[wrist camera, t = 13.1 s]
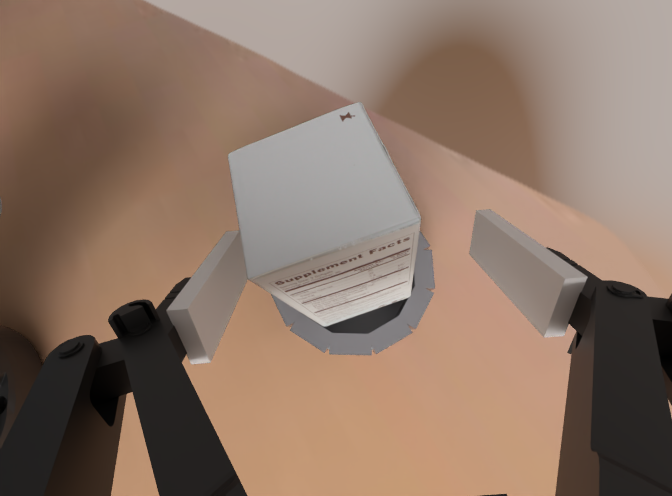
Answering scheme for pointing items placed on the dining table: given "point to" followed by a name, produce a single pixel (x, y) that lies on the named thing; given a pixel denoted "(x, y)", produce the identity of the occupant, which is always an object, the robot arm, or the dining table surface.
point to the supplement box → (326, 217)
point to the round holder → (370, 317)
